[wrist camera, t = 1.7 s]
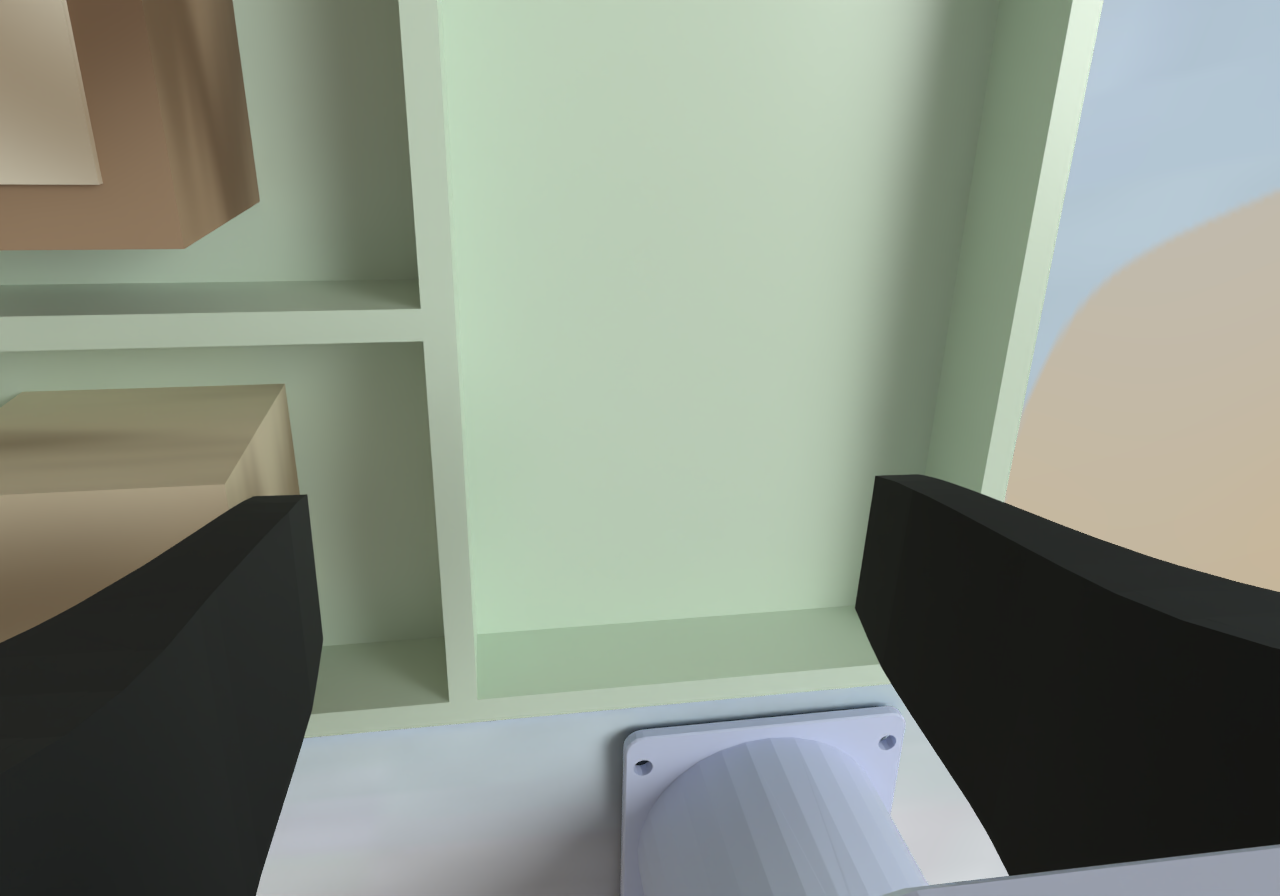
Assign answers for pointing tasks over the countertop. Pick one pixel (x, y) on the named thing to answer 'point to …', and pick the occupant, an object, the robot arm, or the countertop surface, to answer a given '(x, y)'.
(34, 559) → the plain cube
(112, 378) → the organiser
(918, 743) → the countertop surface
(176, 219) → the brown cube
